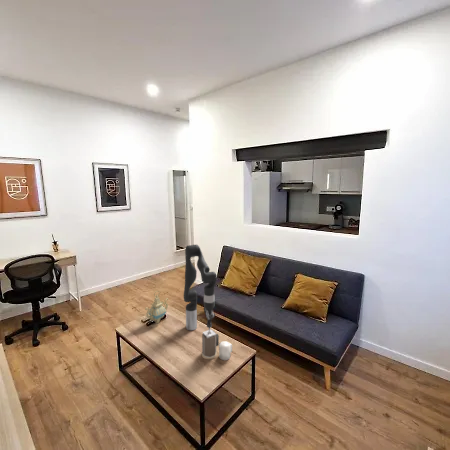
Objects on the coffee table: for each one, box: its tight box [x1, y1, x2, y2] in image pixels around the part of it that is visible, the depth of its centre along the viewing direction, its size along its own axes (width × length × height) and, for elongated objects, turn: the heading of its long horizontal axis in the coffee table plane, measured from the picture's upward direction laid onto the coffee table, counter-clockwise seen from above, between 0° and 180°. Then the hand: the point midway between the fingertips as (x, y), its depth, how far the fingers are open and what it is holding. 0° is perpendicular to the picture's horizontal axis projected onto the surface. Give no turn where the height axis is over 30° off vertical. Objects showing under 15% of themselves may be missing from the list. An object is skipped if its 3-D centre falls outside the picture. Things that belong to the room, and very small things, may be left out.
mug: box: [218, 340, 233, 361], centre depth 178 cm, size 8×10×9 cm
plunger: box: [206, 321, 213, 334], centre depth 178 cm, size 4×4×17 cm
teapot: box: [144, 290, 169, 324], centre depth 218 cm, size 24×12×30 cm, turn 144°
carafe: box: [201, 328, 220, 360], centre depth 179 cm, size 11×13×16 cm
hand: (209, 323), depth 177 cm, fingers closed
